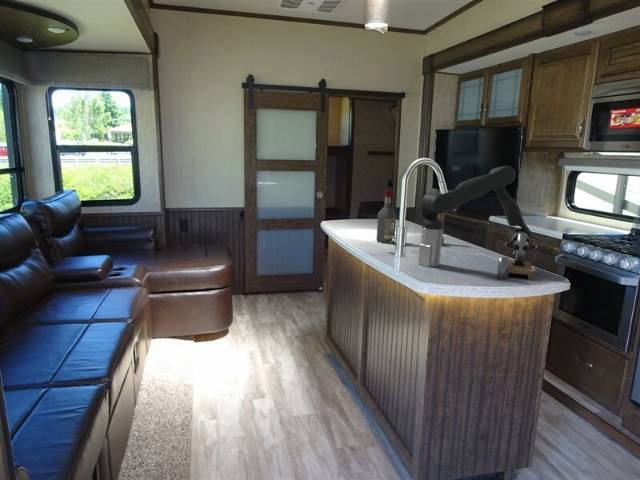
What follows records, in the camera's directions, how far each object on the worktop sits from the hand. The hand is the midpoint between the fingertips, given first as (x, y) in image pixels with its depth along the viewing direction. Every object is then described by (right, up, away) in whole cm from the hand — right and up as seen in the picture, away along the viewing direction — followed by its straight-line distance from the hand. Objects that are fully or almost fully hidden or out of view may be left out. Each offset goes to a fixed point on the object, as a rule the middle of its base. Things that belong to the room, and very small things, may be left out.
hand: (521, 248), depth 192 cm
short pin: (-10, -13, -5) cm, 17 cm away
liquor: (-49, +2, +68) cm, 84 cm away
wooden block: (-20, +1, +68) cm, 70 cm away
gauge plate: (+1, -11, +5) cm, 12 cm away
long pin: (+1, -8, +4) cm, 9 cm away
